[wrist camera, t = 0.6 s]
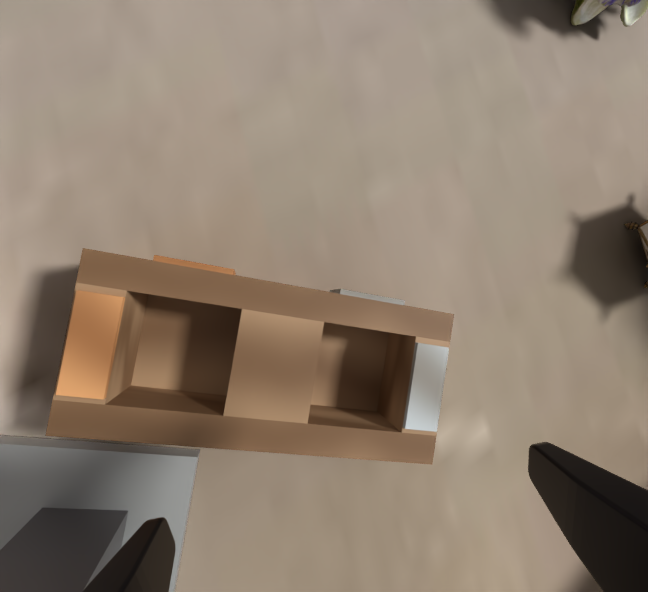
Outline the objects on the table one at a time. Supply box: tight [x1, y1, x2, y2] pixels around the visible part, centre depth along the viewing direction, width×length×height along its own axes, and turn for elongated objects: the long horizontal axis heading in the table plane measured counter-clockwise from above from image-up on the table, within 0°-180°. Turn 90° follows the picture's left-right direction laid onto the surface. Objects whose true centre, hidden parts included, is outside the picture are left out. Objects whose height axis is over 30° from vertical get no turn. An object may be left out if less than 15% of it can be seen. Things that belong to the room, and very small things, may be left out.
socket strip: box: [45, 248, 454, 464], centre depth 19 cm, size 8×18×5 cm, turn 81°
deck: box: [0, 435, 200, 592], centre depth 18 cm, size 10×10×1 cm
